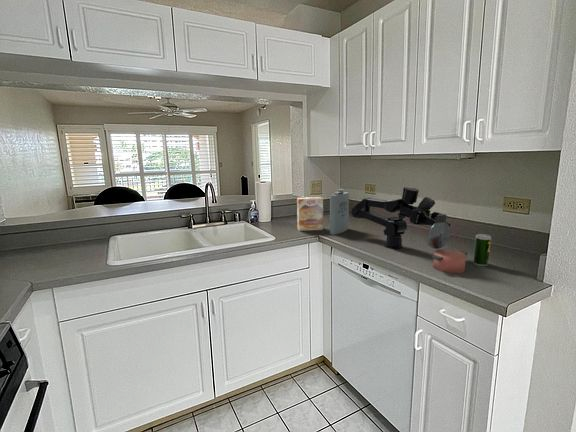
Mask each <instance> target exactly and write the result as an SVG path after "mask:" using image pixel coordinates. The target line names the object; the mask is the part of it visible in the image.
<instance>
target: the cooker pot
mask: <svg viewBox="0 0 576 432" xmlns="http://www.w3.org/2000/svg"><path fill="white" fill-rule="evenodd" d="M433 251H434V252H433V255H431V259H433V266H432V267H433V268H434V269H435V270H436V271H438V272H443V273H447V274H462V273H464V272H465V269H466V261H467V256H468V252H467V251H463V250H455V249H448V248H447V249H443V248H439V249H435V250H433Z"/></svg>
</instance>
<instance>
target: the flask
mask: <svg viewBox="0 0 576 432" xmlns="http://www.w3.org/2000/svg"><path fill="white" fill-rule="evenodd" d="M349 203H350V192H349V191H348V192H347V191H345V189H342V188H340V189H339V188H338V189H337V191H335V192H333V194H330V195H329V235H338V234H342V233H344V232H347V231H348V230H349V211H350V207H349V206H350V205H349Z"/></svg>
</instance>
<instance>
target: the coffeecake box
mask: <svg viewBox="0 0 576 432" xmlns="http://www.w3.org/2000/svg"><path fill="white" fill-rule="evenodd" d="M296 208H297V209H296V214H297V215H296V219H297V220H296V221H297V222H296V224H297V227H296V228H297V230H298V232H303V231H305V232H307V231H323V229H324V198H323V197H321V196H309V197H306V196H305V197H296Z"/></svg>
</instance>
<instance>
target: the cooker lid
mask: <svg viewBox="0 0 576 432" xmlns="http://www.w3.org/2000/svg"><path fill="white" fill-rule="evenodd" d="M445 221H447V214H446V213H441V215H437V218H436V223H434V224H433V225H432V226H431V225H430V228H429V230H428V232H427V234H426V242H427V245H428V246H429V247H430V248H432V249H435V250H440V249H442V248H443V247H444V246H445V245H446V244H447V242H449V239H450V237H451V226H449V225H448V224H447V223H446V222H445Z"/></svg>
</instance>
